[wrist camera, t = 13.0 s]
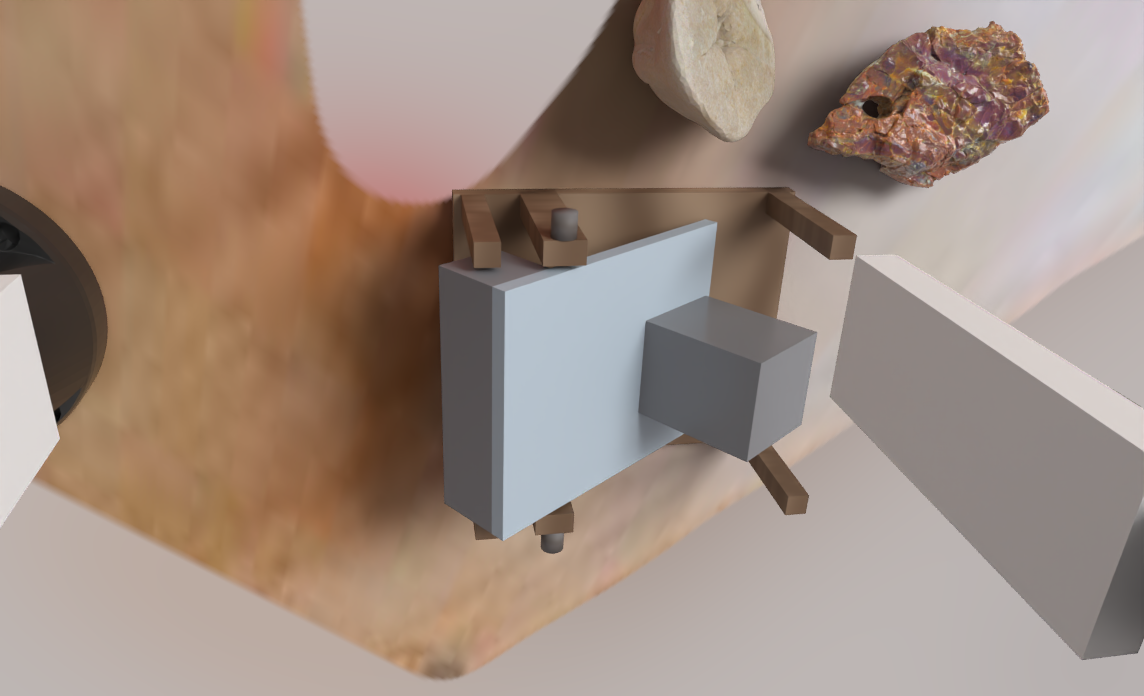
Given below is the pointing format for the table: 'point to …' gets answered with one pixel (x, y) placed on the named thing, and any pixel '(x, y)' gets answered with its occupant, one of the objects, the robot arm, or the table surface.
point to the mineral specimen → (937, 104)
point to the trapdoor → (554, 372)
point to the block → (725, 375)
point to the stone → (707, 60)
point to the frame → (621, 216)
